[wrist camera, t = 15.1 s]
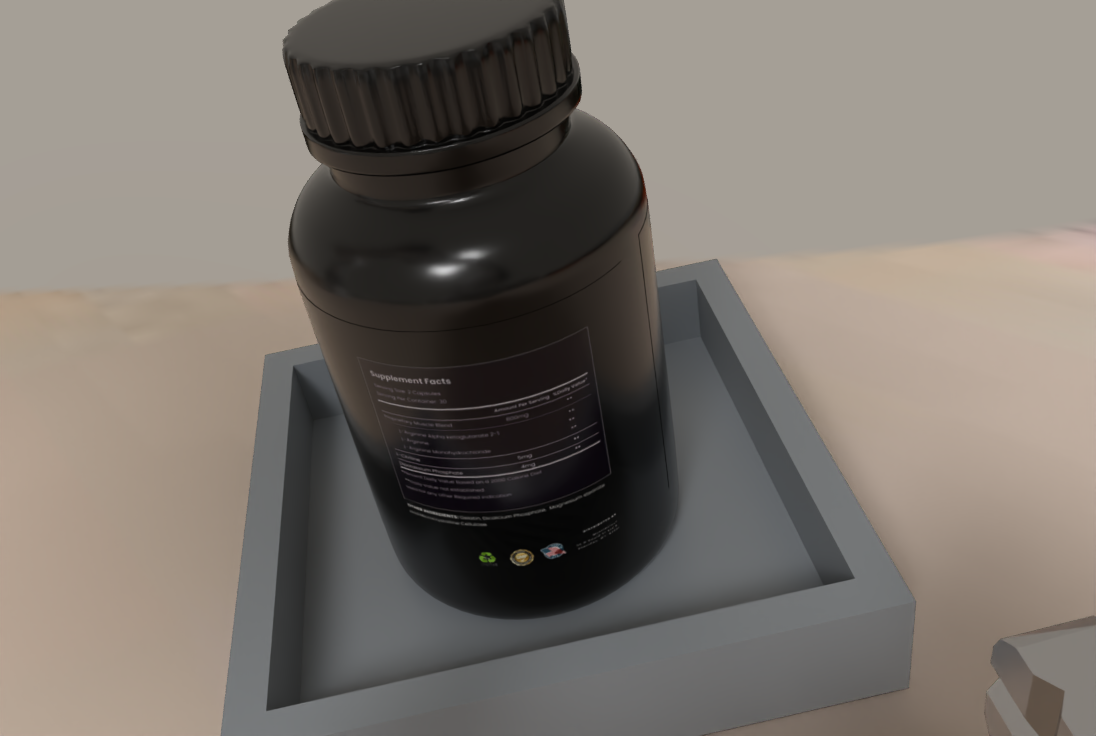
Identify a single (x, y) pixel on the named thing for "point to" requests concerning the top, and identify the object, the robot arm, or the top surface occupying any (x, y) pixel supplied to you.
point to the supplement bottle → (484, 299)
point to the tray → (589, 632)
